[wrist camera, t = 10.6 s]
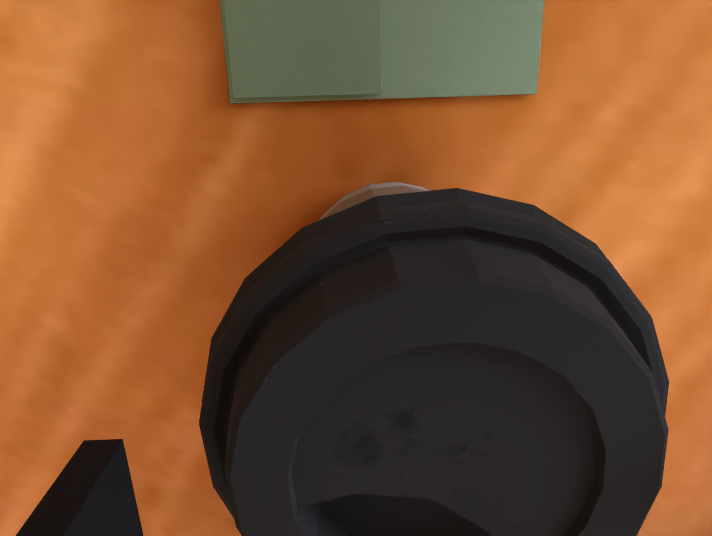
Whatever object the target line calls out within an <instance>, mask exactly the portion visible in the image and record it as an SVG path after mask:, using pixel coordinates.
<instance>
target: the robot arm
mask: <svg viewBox="0 0 712 536" xmlns="http://www.w3.org/2000/svg"><path fill="white" fill-rule="evenodd" d="M16 536H143V532H142V527H141V522H140V518H139V513H138V508H137V504H136V499H135V494H134V490H133V485H132V480H131V476H130V471H129V466H128V462H127V457H126V452H125V448H124V443H123V439H112V440H86V441H83V443H82V444H81V445H80V447H79V448H78V450H77V451H76V452H75V454H74V455H73V457H72V458H71V459H70V461H69V462H68V464H67V465H66V466H65V468H64V469H63V471H62V472H61V473H60V475H59V476H58V478H57V479H56V480H55V482H54V483H53V485H52V486H51V487H50V489H49V490H48V491H47V493H46V494H45V496H44V497H43V498H42V500H41V501H40V503H39V504H38V505H37V507H36V508H35V510H34V511H33V512H32V514H31V515H30V517H29V518H28V519H27V521H26V522H25V524H24V525H23V526H22V528H21V529H20V531H19V532H18V533H17V535H16Z"/></svg>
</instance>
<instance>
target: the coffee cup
mask: <svg viewBox="0 0 712 536" xmlns="http://www.w3.org/2000/svg"><path fill="white" fill-rule="evenodd" d="M668 387H669V380H668V377H667V373H666V369H665V365H664V361H663V358H662V354H661V350H660V346H659V342H658V339H657V335H656V331H655V327H654V324H653V320H652V318H651V315H650V314H649V313H648V311H647V310H646V309H645V307H644V306H643V305H642V303H641V302H640V301H639V299H638V298H637V297H636V295H635V294H634V293H633V291H632V290H631V289H630V288H629V286H628V285H627V284H626V282H625V281H624V280H623V278H622V277H621V276H620V274H619V273H618V272H617V270H616V269H615V268H614V266H613V265H612V264H611V262H610V261H609V260H608V259H607V258H606V257H605V255H604V254H603V253H602V251H601V250H600V249H599V247H598V246H597V245H596V244H595V243H594V242H592V241H590V240H589V239H587V238H586V237H584V236H582V235H581V234H579V233H578V232H576V231H574V230H573V229H571V228H570V227H568V226H566V225H565V224H563V223H562V222H560V221H558V220H557V219H555V218H554V217H552V216H550V215H549V214H547V213H546V212H544V211H542V210H541V209H539V208H538V207H536V206H534V205H531V204H526V203H522V202H517V201H513V200H508V199H504V198H499V197H495V196H490V195H486V194H481V193H477V192H472V191H468V190H463V189H459V188H453V189H443V190H432V191H431V190H428V189H426V188H423V187H419V186H414V185H410V184H405V183H401V182H389V183H379V184H370V185H367V186H365V187H363V188H360V189H358V190H356V191H353V192H351V193H349V194H346V195H344V196H343V197H342V198H341V199H340V200H339V201H338V202H337V203H335V204H334V205H333V206H332V207H331V208H330V209H329V210H327V211H326V212H325V213H324V214H323V216H322V217H321V218H320V219H319V221H317V222H314V223H312V224H310V225H307V226H305V227H303V228H301V229H300V230H299V231H298V232H297V233H296V234H294V235H293V236H292V237H291V238H290V239H289V240H288V241H287V242H285V243H284V244H283V245H282V246H281V247H280V248H279V249H277V250H276V251H275V252H274V253H273V254H272V255H271V256H270V257H268V258H267V259H266V260H265V261H264V262H263V263H262V264H260V265H259V266H258V267H257V268H256V269H255V270H254V271H253V272H251V273H250V274H249V275H248V276H247V277H246V278H245V279H244V281H243V283H242V285H241V287H240V288H239V290H238V292H237V294H236V295H235V297H234V299H233V301H232V303H231V304H230V306H229V308H228V310H227V312H226V313H225V315H224V317H223V319H222V321H221V322H220V324H219V326H218V328H217V329H216V331H215V333H214V335H213V337H212V338H211V345H210V352H209V358H208V365H207V371H206V378H205V385H204V391H203V398H202V407H201V414H200V420H199V425H200V430H201V435H202V439H203V444H204V448H205V452H206V457H207V461H208V466H209V470H210V474H211V479H212V483H213V487H214V489H215V490H216V492H217V493H218V495H219V496H220V498H221V499H222V501H223V502H224V504H225V505H226V507H227V508H228V510H229V511H230V513H231V514H232V516H233V518H234V519H235V524H236V527H237V529H238V530H239V532H240V533H241V535H242V536H637V534H638V532H639V530H640V528H641V526H642V524H643V522H644V520H645V518H646V516H647V514H648V512H649V510H650V508H651V506H652V504H653V502H654V500H655V498H656V496H657V494H658V492H659V490H660V488H661V486H662V478H663V470H664V461H665V453H666V445H667V437H668V427H667V423H666V420H665V412H666V404H667V395H668Z"/></svg>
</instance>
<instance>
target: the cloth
mask: <svg viewBox="0 0 712 536" xmlns="http://www.w3.org/2000/svg"><path fill="white" fill-rule="evenodd" d="M543 8H544V0H220V9H221V19H222V29H223V39H224V48H225V58H226V68H227V77H228V87H229V97H230V103H231V104H237V103H269V102H301V101H333V100H365V99H397V98H429V97H461V96H493V95H524V94H536V93H537V83H538V71H539V58H540V46H541V33H542V20H543Z"/></svg>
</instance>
